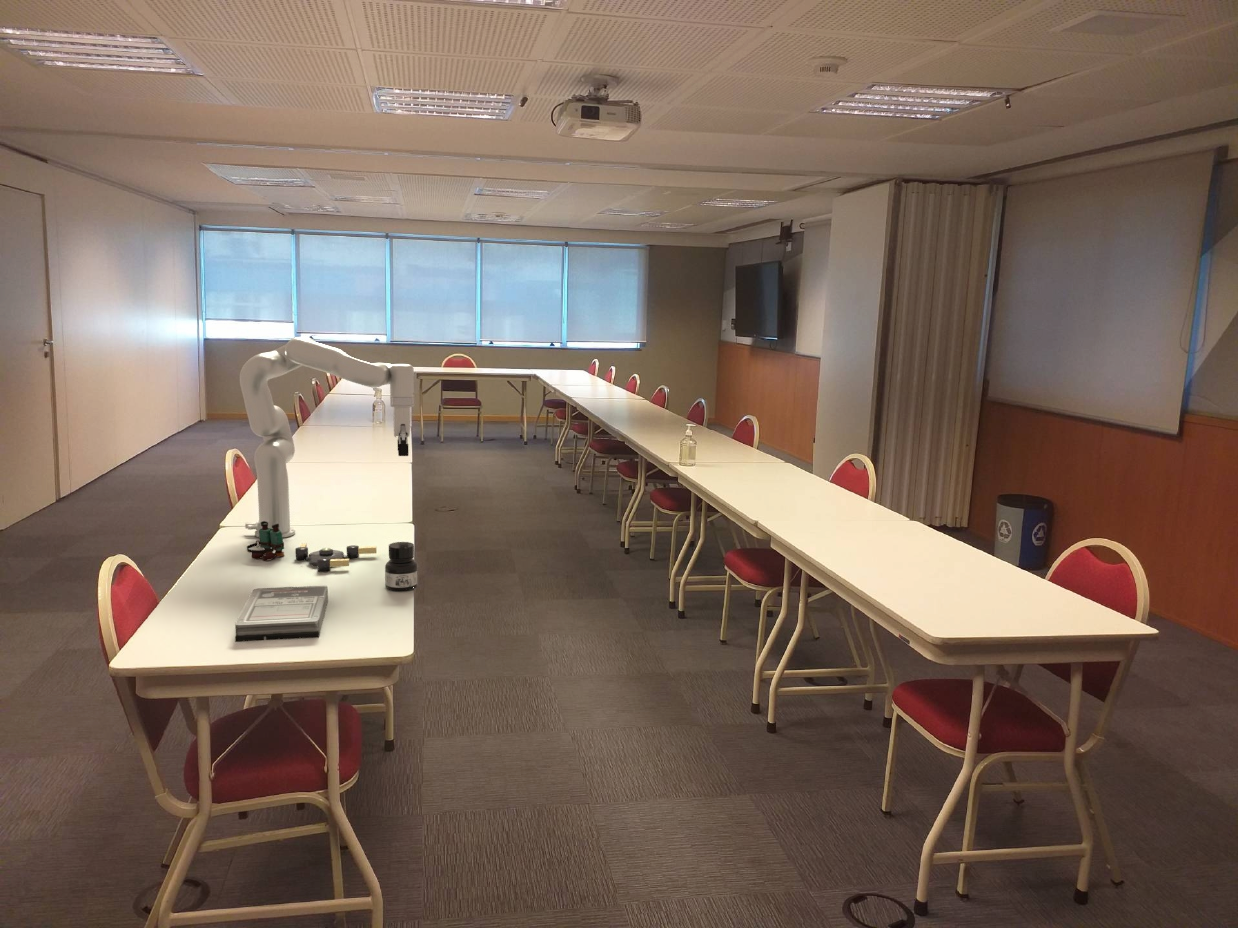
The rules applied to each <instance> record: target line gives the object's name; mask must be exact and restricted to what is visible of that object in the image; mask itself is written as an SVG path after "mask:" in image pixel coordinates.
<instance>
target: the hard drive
mask: <svg viewBox="0 0 1238 928" xmlns="http://www.w3.org/2000/svg"><path fill="white" fill-rule="evenodd" d="M328 588H329V587H328V585H309V586H308V585H307V586H285V587H284V586H281V587H259V588H253V589H252V591H251V592H250V594H249V596H248V599H247V600H246V601H245V604H244V606H243V607H242V609H241V610H240V613H239V615H238V617H237V619H236V621H235V622H234V623H235V624H234V625H235V636H234V642H236V643H238V642H240V643H241V642H256V641H258V642H259V641H274V640H275V641H278V640H295V639H297V640H298V639H315V638H319V637H320V634H321V631H322V628H323V624H324V623H323V622H324V618H325V615H326V611H327V608H328V603H329V591H328Z"/></svg>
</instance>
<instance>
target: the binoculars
mask: <svg viewBox="0 0 1238 928" xmlns="http://www.w3.org/2000/svg"><path fill="white" fill-rule="evenodd" d="M261 526H262V528H261V529H259V537H258V538H259V540H256V541H255V542H253V543H251V544H248V545H247V546H246V551H247V552H248V553H251V558H252V559H255V560H259V559H262V560H263V561H264V562H266V561H267V562H268V561H271V560H273V559H275V557H278V558H280V557H285V552H284V551H283V550H284V549H285V543H284V540H283V538H282V532H281V530H279V528H278V527H279V524H275V525H272V528H273V529H272V528H268V522H266V521H262V522H261ZM255 547H256V548H259V547H260V548H261V549H251V548H255Z"/></svg>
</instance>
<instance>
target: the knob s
mask: <svg viewBox="0 0 1238 928" xmlns="http://www.w3.org/2000/svg"><path fill="white" fill-rule="evenodd" d="M317 566H318V567H317V572H319V573H328V572H330V571H331V569H332V567H333V568H337V567H349V566H350V559H332V560H330V558H319V559H317Z"/></svg>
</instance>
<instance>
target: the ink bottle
mask: <svg viewBox="0 0 1238 928" xmlns="http://www.w3.org/2000/svg"><path fill="white" fill-rule="evenodd" d="M388 559H389V560H388V561H387V562H386V563H385V565H384V573H385V574H384V575H385V576H384V578H385V581H384V583H385V588H386V589H388V591H395V592H404V591H405V592H406V591H411V590H414V589H416V588H417V587H418V586H419V564H418V562H417V561H416V560H415V544H414V543H413V542H409V541H396V542H392V543H389V544H388ZM413 587H414V589H413Z"/></svg>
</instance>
